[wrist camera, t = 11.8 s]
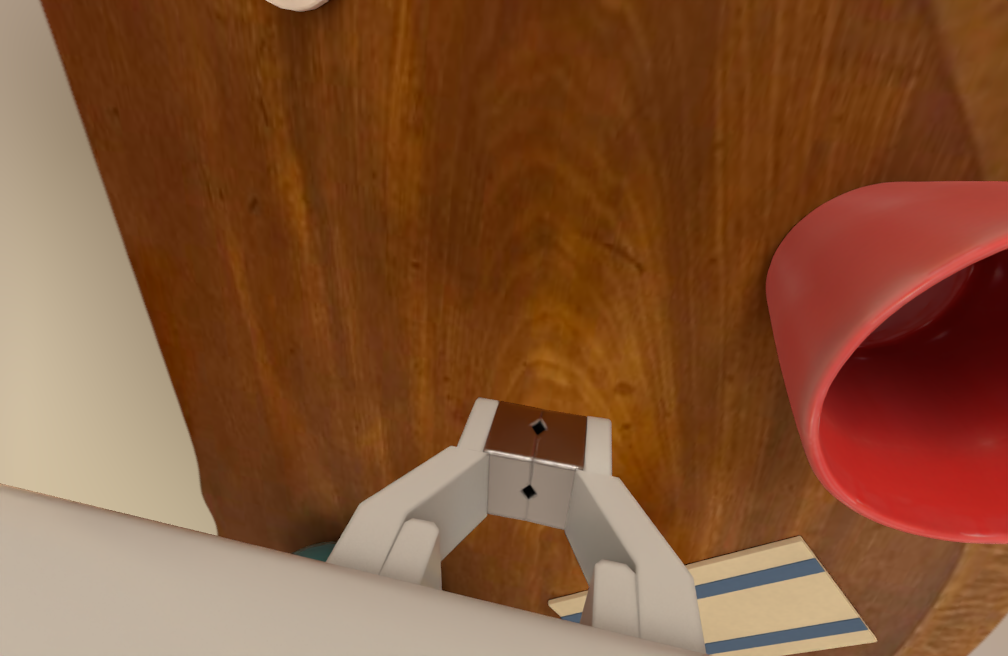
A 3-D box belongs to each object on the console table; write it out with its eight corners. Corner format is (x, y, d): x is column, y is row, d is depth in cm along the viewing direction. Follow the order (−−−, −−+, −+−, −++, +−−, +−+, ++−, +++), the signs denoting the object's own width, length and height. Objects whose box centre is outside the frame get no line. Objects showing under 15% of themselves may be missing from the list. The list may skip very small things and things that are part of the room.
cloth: (800, 535, 28) (803, 542, 27) (874, 635, 31) (878, 643, 31) (548, 600, 37) (547, 606, 36) (627, 673, 40) (627, 679, 40)
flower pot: (678, 263, 21) (728, 386, 13) (945, 70, 16) (1333, 63, 7) (801, 404, 23) (911, 585, 15) (1068, 278, 18) (1464, 449, 10)
